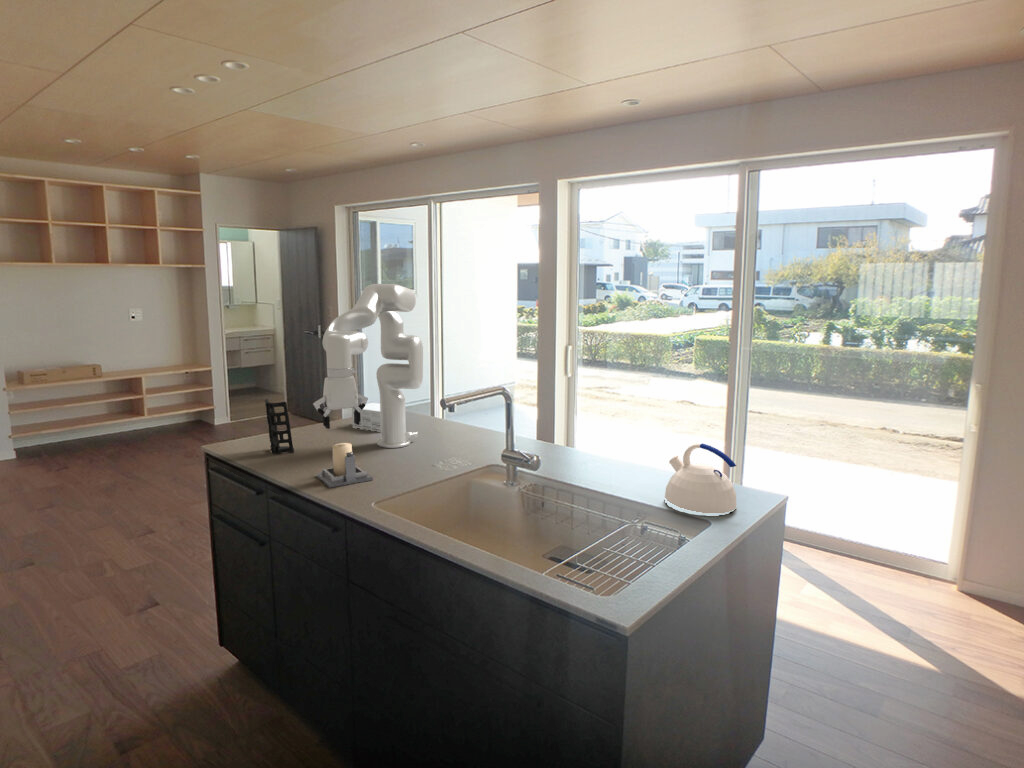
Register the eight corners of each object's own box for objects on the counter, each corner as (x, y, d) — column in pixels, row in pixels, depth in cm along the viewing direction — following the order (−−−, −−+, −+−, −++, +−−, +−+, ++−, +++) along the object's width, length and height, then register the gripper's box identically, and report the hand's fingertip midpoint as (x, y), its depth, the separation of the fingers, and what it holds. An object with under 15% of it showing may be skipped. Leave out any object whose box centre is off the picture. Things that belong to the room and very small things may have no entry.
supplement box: (402, 427, 277) (401, 405, 276) (381, 433, 266) (380, 411, 265) (373, 422, 286) (373, 401, 285) (352, 428, 275) (351, 406, 274)
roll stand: (357, 468, 217) (356, 440, 215) (373, 480, 205) (372, 450, 203) (315, 475, 210) (314, 446, 208) (329, 488, 197) (328, 457, 195)
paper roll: (349, 471, 211) (348, 441, 209) (355, 476, 206) (354, 445, 204) (331, 474, 208) (329, 444, 206) (337, 479, 203) (335, 448, 201)
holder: (300, 449, 240) (293, 398, 235) (287, 456, 233) (280, 404, 228) (276, 447, 243) (269, 396, 238) (263, 454, 236) (255, 402, 231)
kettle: (687, 487, 199) (689, 431, 196) (750, 505, 184) (754, 444, 181) (648, 503, 186) (651, 443, 182) (713, 523, 171) (717, 458, 168)
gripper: (362, 369, 209) (364, 420, 212) (308, 373, 200) (311, 427, 203) (370, 372, 203) (372, 424, 206) (315, 377, 194) (318, 432, 197)
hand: (342, 425), depth 204 cm, fingers open, 9 cm apart
